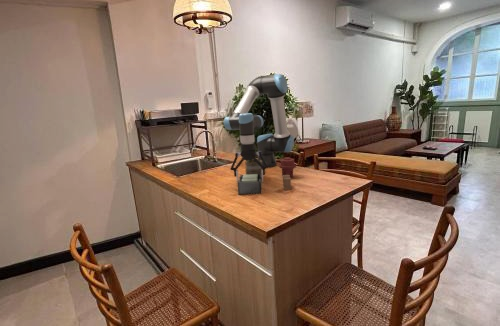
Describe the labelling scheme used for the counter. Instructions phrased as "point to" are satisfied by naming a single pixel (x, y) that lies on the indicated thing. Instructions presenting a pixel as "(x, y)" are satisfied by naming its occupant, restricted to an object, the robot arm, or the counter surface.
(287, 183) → the block
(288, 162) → the mechanical component
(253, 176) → the board
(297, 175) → the counter surface
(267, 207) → the counter surface
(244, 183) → the frame
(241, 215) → the counter surface
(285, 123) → the robot arm
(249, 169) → the mug
